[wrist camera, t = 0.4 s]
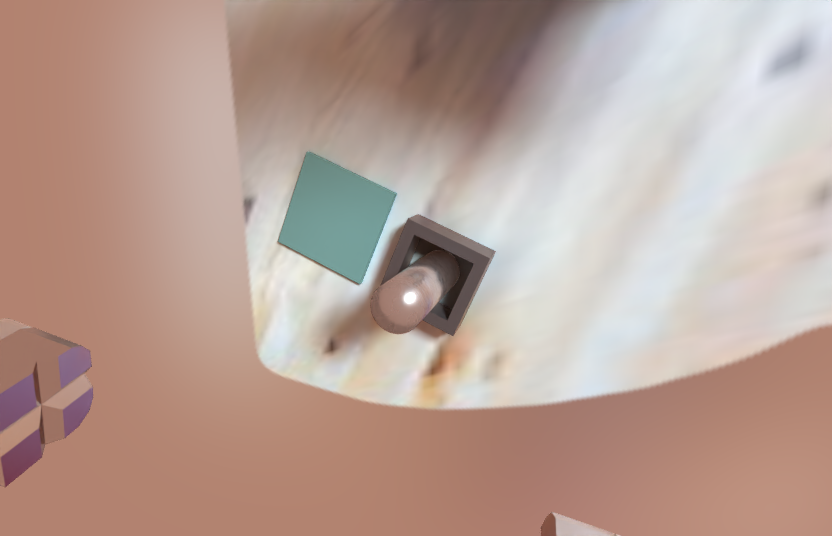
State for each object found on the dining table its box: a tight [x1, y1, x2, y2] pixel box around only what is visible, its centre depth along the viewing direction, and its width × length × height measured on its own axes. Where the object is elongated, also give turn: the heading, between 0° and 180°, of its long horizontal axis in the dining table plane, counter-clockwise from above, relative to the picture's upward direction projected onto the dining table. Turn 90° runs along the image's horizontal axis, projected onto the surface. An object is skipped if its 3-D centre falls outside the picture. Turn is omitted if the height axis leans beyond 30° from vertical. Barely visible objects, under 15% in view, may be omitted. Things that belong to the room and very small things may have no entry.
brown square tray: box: [381, 214, 496, 336], centre depth 54 cm, size 9×9×4 cm
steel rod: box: [371, 250, 460, 334], centre depth 49 cm, size 4×4×14 cm
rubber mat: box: [278, 152, 397, 284], centre depth 57 cm, size 11×11×1 cm
